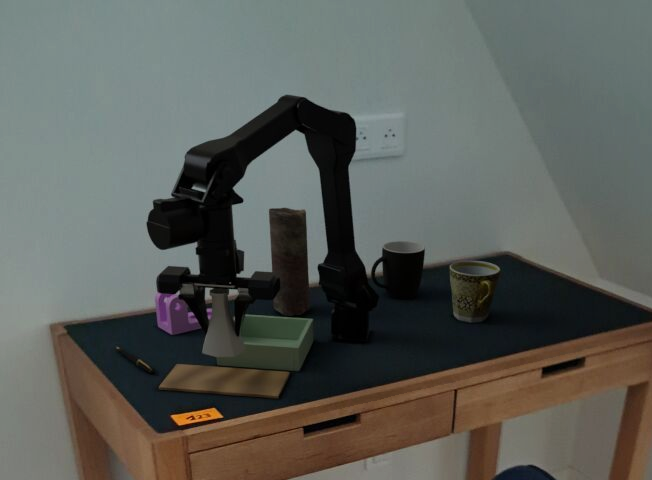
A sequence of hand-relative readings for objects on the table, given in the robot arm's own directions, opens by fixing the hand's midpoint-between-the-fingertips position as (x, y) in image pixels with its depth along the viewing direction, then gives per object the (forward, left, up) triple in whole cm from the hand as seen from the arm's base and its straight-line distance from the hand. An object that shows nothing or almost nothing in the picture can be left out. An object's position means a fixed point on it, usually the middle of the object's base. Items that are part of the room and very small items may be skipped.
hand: (222, 334), depth 141 cm
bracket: (+13, -26, -8) cm, 30 cm away
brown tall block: (-4, -37, -8) cm, 38 cm away
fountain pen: (+18, -5, -9) cm, 21 cm away
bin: (-4, -14, -8) cm, 17 cm away
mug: (-24, -51, -8) cm, 57 cm away
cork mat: (0, 0, -8) cm, 8 cm away
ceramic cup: (-41, -39, -8) cm, 57 cm away
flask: (0, 0, -3) cm, 3 cm away
